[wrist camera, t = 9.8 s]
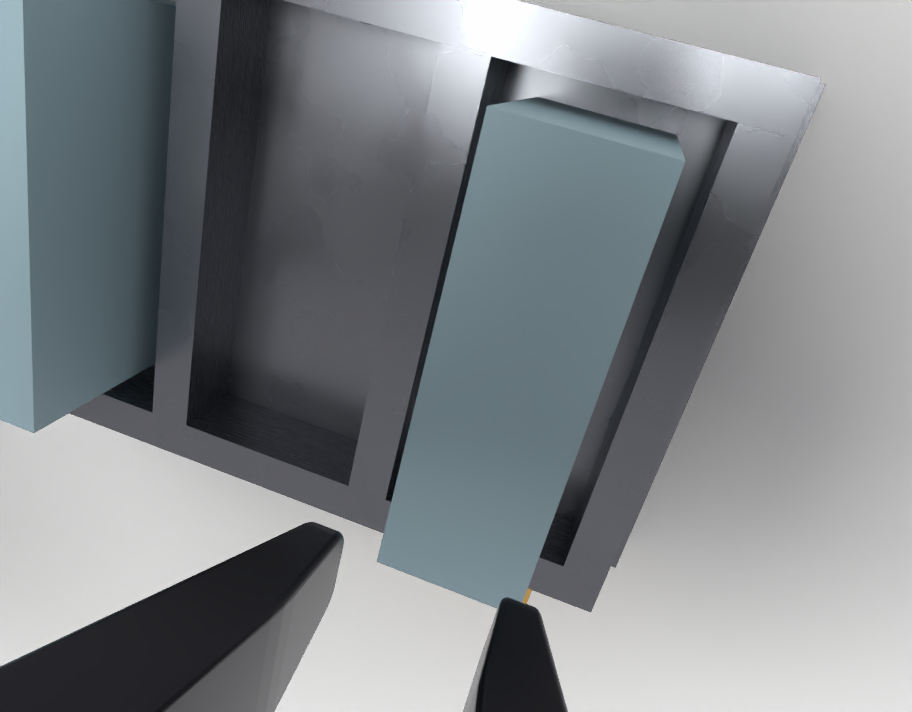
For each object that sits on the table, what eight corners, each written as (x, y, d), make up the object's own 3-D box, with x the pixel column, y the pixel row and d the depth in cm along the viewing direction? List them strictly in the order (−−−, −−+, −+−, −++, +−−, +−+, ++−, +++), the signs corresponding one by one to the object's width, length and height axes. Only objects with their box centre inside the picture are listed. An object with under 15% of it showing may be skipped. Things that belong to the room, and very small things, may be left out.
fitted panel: (174, 352, 20) (34, 432, 15) (83, 319, 20) (-79, 389, 16) (198, 8, 16) (22, -17, 12) (86, -22, 17) (-126, -58, 12)
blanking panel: (551, 483, 18) (517, 616, 14) (444, 445, 19) (377, 561, 14) (677, 134, 14) (685, 161, 10) (538, 96, 15) (486, 106, 10)
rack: (608, 566, 20) (600, 643, 17) (44, 357, 23) (-39, 396, 20) (815, 84, 14) (851, 85, 12) (36, -116, 17) (-81, -153, 14)
